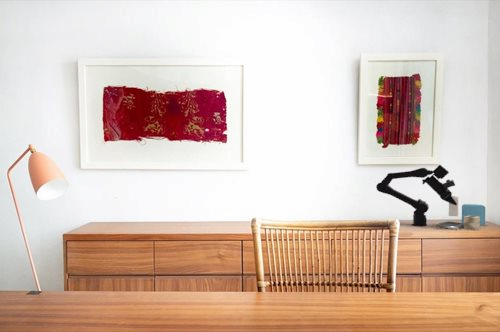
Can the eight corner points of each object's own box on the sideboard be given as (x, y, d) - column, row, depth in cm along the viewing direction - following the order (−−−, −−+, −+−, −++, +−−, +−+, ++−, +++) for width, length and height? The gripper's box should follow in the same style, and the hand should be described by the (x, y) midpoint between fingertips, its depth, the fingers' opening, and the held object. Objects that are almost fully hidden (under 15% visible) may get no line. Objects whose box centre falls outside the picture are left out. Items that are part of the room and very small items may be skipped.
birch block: (463, 228, 239) (464, 216, 238) (468, 227, 242) (469, 215, 242) (474, 230, 234) (475, 217, 234) (479, 229, 238) (479, 216, 237)
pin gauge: (441, 226, 244) (440, 228, 243) (440, 224, 243) (439, 226, 243) (459, 228, 236) (458, 230, 235) (458, 226, 236) (457, 228, 235)
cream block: (449, 216, 243) (449, 196, 242) (448, 214, 247) (449, 195, 247) (457, 216, 241) (458, 197, 241) (457, 215, 246) (457, 196, 245)
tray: (439, 226, 245) (439, 223, 245) (448, 225, 252) (448, 221, 252) (458, 229, 237) (458, 225, 237) (467, 227, 243) (467, 223, 243)
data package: (483, 224, 254) (484, 204, 253) (485, 225, 249) (485, 205, 249) (461, 223, 257) (461, 204, 257) (462, 224, 253) (463, 204, 253)
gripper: (447, 175, 236) (468, 196, 232) (445, 174, 254) (465, 193, 250) (431, 189, 240) (452, 209, 236) (431, 187, 257) (450, 206, 253)
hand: (456, 204), depth 243 cm, fingers closed on cream block, 5 cm apart
